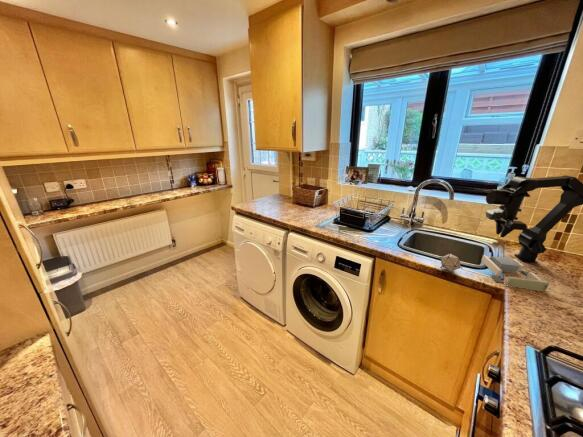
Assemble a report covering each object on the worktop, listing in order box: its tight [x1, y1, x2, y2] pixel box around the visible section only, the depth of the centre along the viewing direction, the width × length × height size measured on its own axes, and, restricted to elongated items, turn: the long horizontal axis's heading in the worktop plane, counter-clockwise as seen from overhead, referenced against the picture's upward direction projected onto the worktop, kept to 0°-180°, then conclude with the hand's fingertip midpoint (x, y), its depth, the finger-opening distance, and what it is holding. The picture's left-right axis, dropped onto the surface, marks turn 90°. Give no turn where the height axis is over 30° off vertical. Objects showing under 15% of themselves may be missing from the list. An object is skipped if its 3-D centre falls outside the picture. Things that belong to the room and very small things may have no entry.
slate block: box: [490, 255, 519, 274], centre depth 109 cm, size 7×7×4 cm
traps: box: [491, 270, 529, 284], centre depth 102 cm, size 6×22×1 cm, turn 101°
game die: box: [438, 251, 463, 274], centre depth 105 cm, size 9×8×10 cm
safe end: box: [505, 275, 550, 292], centre depth 95 cm, size 1×13×4 cm, turn 77°
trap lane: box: [481, 254, 549, 292], centre depth 104 cm, size 20×13×3 cm
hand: (499, 235), depth 113 cm, fingers open, 3 cm apart
